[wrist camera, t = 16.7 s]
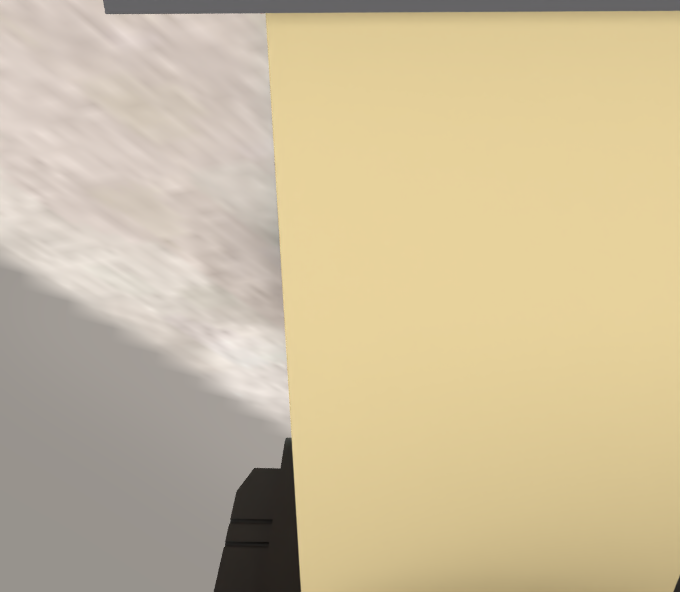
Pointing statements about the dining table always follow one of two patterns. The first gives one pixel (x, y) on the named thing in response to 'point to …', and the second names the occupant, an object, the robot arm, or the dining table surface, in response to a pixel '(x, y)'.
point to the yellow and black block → (478, 288)
